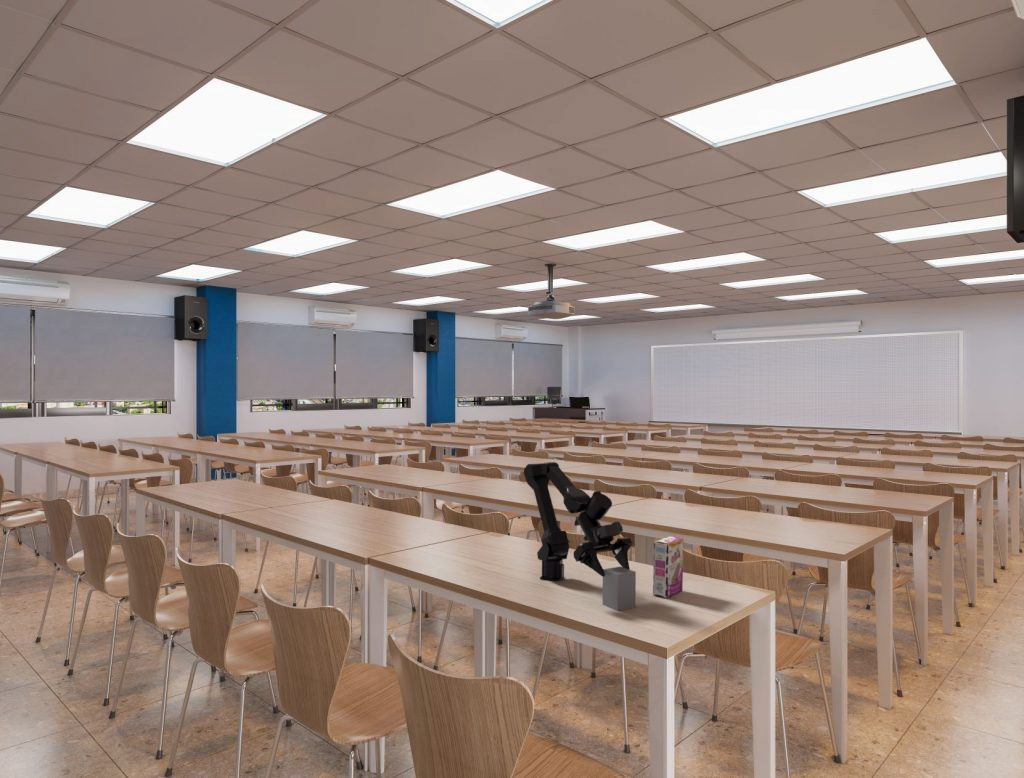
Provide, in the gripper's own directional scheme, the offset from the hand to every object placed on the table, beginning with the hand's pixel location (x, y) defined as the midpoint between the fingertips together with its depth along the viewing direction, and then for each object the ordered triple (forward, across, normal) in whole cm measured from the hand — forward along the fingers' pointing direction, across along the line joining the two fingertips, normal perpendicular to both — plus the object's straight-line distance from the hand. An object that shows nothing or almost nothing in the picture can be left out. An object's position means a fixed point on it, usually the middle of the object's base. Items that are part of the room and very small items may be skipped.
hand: (616, 573), depth 183 cm
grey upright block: (+7, 0, +6) cm, 9 cm away
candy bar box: (+6, +21, +7) cm, 23 cm away
